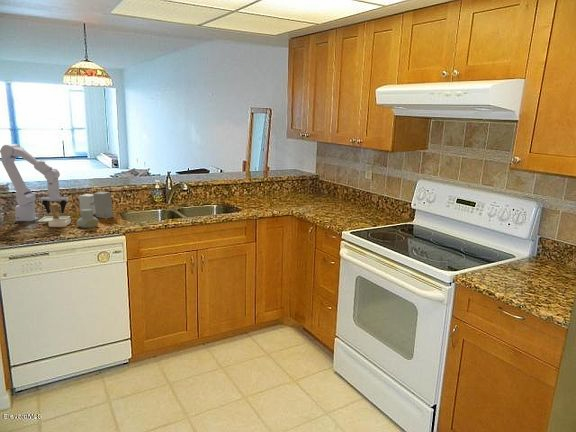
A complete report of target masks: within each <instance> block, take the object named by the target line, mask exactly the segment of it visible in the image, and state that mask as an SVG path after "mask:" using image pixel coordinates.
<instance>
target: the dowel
mask: <svg viewBox="0 0 576 432" xmlns="http://www.w3.org/2000/svg"><path fill="white" fill-rule="evenodd" d="M51 210H52V216H53V219H59V216H60V210H59V204H58V203H53V204H51Z"/></svg>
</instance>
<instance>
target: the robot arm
mask: <svg viewBox="0 0 576 432" xmlns="http://www.w3.org/2000/svg"><path fill="white" fill-rule="evenodd" d="M0 155H1V156H0V158H1V163H2V166H3V168H4V170H5V171H6V173H7V176H8V177H9V179H10V181H11V183H12V185H13V186H14V189H15V190H16V192H15V194H14V195H15V200H16V203H17V205H15V207H14V212H15V213H14V216H15V222H31V221H35V220H37V219H38V218H39V217H38V216H37V217H36V212H35V211H36V210H35V209H36V208H35V201H36V199H37V198H36V195H35V193H34V192H32V189H30V188H28V187H27V185H26V183H25V181H24V179H23V177H22V176H21V174H20V171H19V170H18V168H17V165H16V164H15V161H16V159H17V157H18V158H19V157H20V158H22V159H24V160H25V161H27V162H28V163H30V165H33V168H34V169H35V170H36V171H38V172H39V173H40V174H41V175H42V176H44V178H45V179H46V184H47V192H48V193H47V194H48V196H46V197H44V196H43V197H42V196H41V197H40V198H39V199H40V200H39V201H40V202H41V203H42V206H43V207H44V208H45V210H46V213H47V214H48V215H49V214H51V209H50V208H51V207H50V205H51V203H50V202H59V205H60V211H61V212H60V213H61V214H64V213H65V210H66V209H65V208H66V206H67V203H68V202H69V197H67V196H66V197H65V196H64V197H63V196H61V194H60V193H61V192H60V184H59V183H60V182H59V178H60V176H61V174H60V172H59V170H58V169H57V168H53V167H52V166H49V165H48V164H47V163H46V162H45V161H44V160H43V161H42V160H38V159H37V158H35V157H34V156H33V155H32V154H30V153H29V152H28V151H27V150H25V148H24V147H22V146H21V145H20V144H17V143H13V144H4V145H2V146H1V148H0Z"/></svg>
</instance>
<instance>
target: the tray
mask: <svg viewBox="0 0 576 432" xmlns="http://www.w3.org/2000/svg"><path fill="white" fill-rule="evenodd" d="M59 219H71V215H59ZM51 220H53V215H48V216H47V215H45V216H44V217H42V218H40V219H39V220H37V221H36V222H37V223H48V222H50V221H51Z"/></svg>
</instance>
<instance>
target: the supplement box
mask: <svg viewBox="0 0 576 432" xmlns="http://www.w3.org/2000/svg"><path fill="white" fill-rule="evenodd" d="M78 201H79V202H78V203H79V213H80V214H79V216H81V210H82V209H92V210H93V216H95V215H96V210H95V203H94V196H93V194H92V193H85V194H80V195H78Z"/></svg>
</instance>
